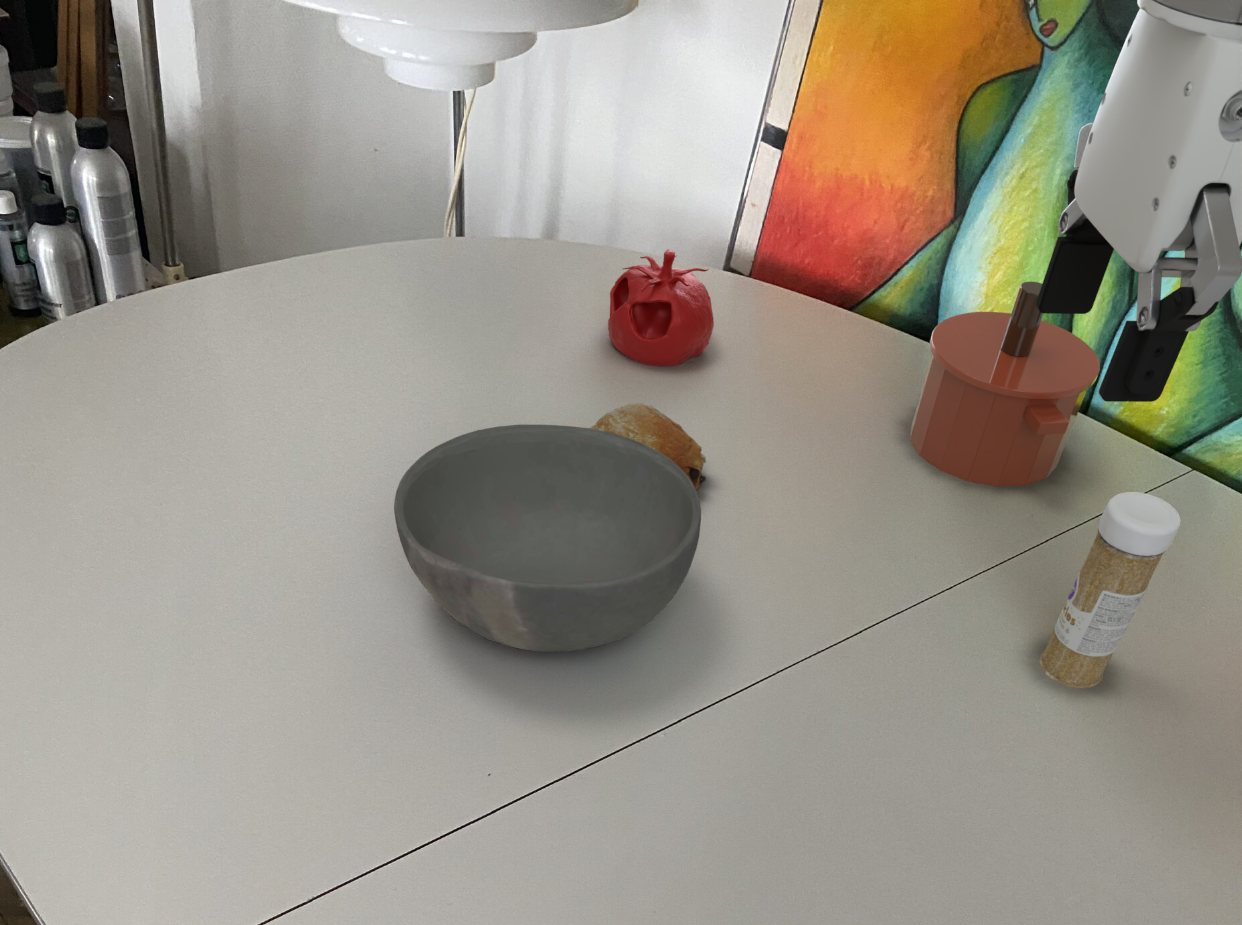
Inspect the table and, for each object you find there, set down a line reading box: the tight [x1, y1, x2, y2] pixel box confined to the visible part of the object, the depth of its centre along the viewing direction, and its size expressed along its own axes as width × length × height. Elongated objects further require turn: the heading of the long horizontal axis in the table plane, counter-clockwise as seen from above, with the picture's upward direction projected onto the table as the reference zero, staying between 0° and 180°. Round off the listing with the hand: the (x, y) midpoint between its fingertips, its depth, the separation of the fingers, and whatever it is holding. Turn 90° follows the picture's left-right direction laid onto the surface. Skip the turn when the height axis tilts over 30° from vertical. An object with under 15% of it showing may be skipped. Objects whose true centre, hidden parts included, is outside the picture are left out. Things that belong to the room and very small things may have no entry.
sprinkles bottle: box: [1038, 491, 1182, 689], centre depth 80 cm, size 5×5×14 cm
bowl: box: [393, 424, 702, 653], centre depth 82 cm, size 20×20×10 cm
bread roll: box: [589, 402, 707, 492], centre depth 96 cm, size 10×10×8 cm
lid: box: [929, 281, 1101, 399], centre depth 96 cm, size 14×14×6 cm
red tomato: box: [607, 248, 715, 367], centre depth 109 cm, size 10×10×9 cm
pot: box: [909, 353, 1088, 488], centre depth 102 cm, size 13×18×8 cm
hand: (1093, 353), depth 66 cm, fingers open, 9 cm apart
